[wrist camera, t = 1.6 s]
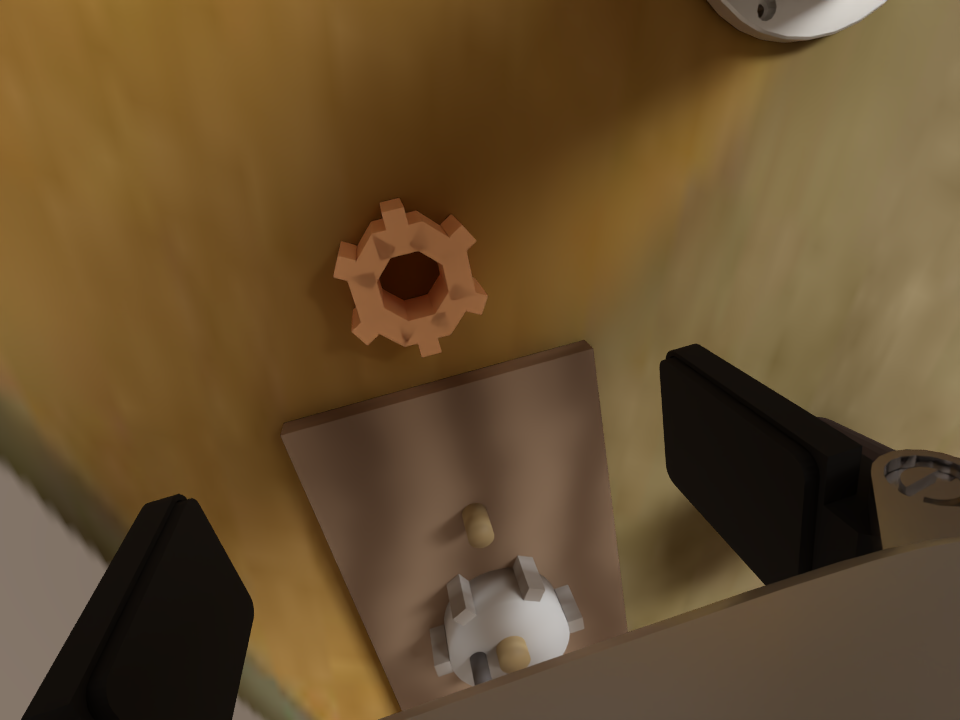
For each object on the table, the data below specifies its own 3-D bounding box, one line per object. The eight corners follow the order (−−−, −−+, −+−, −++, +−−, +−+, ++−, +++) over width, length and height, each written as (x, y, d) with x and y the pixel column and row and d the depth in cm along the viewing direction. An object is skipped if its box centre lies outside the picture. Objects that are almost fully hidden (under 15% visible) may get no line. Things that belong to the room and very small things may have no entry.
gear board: (584, 339, 28) (633, 387, 23) (624, 654, 39) (663, 733, 34) (283, 423, 27) (264, 493, 22) (414, 725, 38) (422, 819, 33)
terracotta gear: (454, 184, 24) (466, 191, 21) (483, 315, 26) (496, 337, 24) (322, 216, 23) (316, 228, 20) (365, 347, 26) (365, 372, 23)
